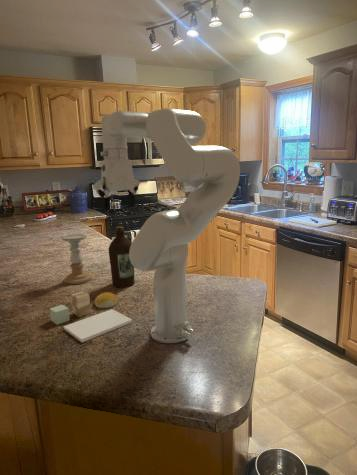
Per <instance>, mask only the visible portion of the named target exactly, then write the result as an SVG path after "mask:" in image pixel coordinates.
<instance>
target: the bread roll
mask: <svg viewBox="0 0 357 475" xmlns="http://www.w3.org/2000/svg"><path fill="white" fill-rule="evenodd" d="M93 302H94V305H95V307H97V308H99V309H107V308H112V307H115V305H117V303H118V298H117V295H116V294H114V293H112V292H108V291H107V292H106V291H105V292H102V293H100V294H98V295H97V296H96V297H95V299H94V301H93Z"/></svg>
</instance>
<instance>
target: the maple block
mask: <svg viewBox="0 0 357 475" xmlns="http://www.w3.org/2000/svg"><path fill="white" fill-rule="evenodd" d="M70 297H71V304H72V306H71V307H72V313H73V315H75V316H77V317H78V318H81V317H83V316H86V315H91V313H92V310H91V300H90V294H89V293H87V292H85V291H84V290H83V291H79V292H75V293H72V294H70Z"/></svg>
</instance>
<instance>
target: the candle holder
mask: <svg viewBox="0 0 357 475" xmlns="http://www.w3.org/2000/svg"><path fill="white" fill-rule="evenodd" d="M85 239H87V235H86V234H83V233H82V234H81V233H75V234H68V235H64V236H62V237H61V241H63V242H68V243H69V245H70V248H69V251H70V258H69V262H70V265H69V267H70V269H71V272H69V273H68V274H67V275H66V276H65V277H64V279H63V282H64V283H65V284H67V285H80V284H81V285H82V284H86V283H88V282H90V281H91V280H92V279H93V275H92V274H91V273H88V272H87V271H84V269H83V267H84V263H83V256H82V254H81V250H82V248H81V246H80V243H81V241H84V240H85Z"/></svg>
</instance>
